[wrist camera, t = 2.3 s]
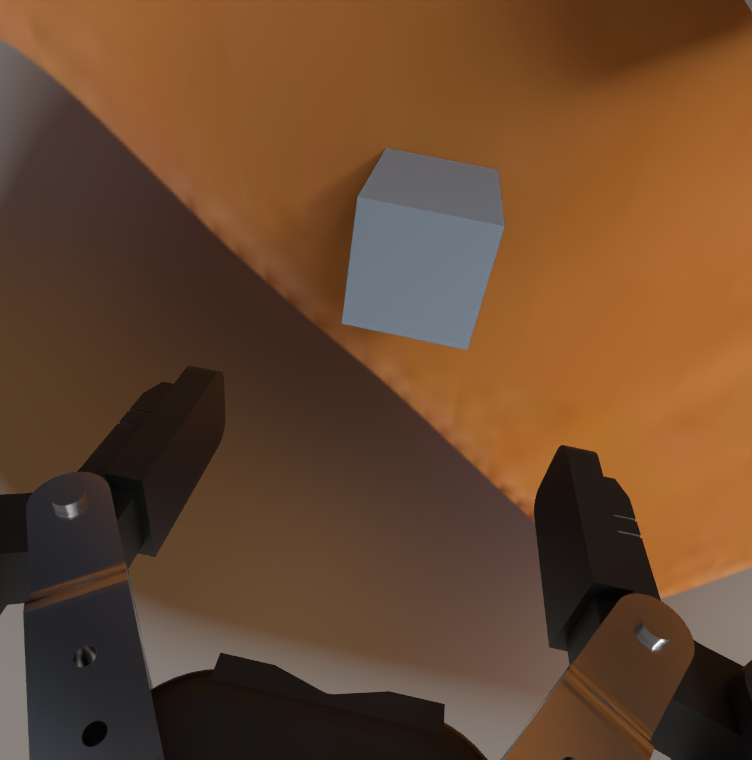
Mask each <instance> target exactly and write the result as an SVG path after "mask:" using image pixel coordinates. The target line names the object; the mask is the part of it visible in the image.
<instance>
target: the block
mask: <svg viewBox="0 0 752 760" xmlns="http://www.w3.org/2000/svg"><path fill="white" fill-rule="evenodd" d="M504 227H505V224H504V215H503V205H502V196H501V187H500V177H499V170H497V169H492V168H487V167H482V166H477V165H472V164H467V163H462V162H456V161H451V160H446V159H441V158H436V157H431V156H426V155H421V154H416V153H411V152H406V151H401V150H395V149H390V148H386V149H385V151H384V153H383V154H382V156H381V158H380V159H379V161H378V163H377V165H376V166H375V168H374V170H373V171H372V173H371V175H370V176H369V178H368V180H367V182H366V183H365V185H364V187H363V188H362V190H361V192H360V193H359V195H358V197H357V205H356V213H355V221H354V229H353V237H352V245H351V253H350V261H349V269H348V276H347V284H346V292H345V300H344V308H343V316H342V324H346V325H350V326H355V327H360V328H365V329H370V330H374V331H379V332H384V333H389V334H393V335H398V336H403V337H408V338H412V339H417V340H422V341H427V342H431V343H436V344H441V345H446V346H451V347H455V348H460V349H465V350H468V346H469V343H470V340H471V336H472V333H473V330H474V327H475V323H476V320H477V317H478V313H479V310H480V307H481V303H482V300H483V297H484V293H485V290H486V287H487V283H488V280H489V277H490V274H491V270H492V267H493V264H494V260H495V257H496V254H497V250H498V247H499V244H500V240H501V237H502V234H503V231H504Z"/></svg>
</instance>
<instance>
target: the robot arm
mask: <svg viewBox="0 0 752 760" xmlns="http://www.w3.org/2000/svg"><path fill="white" fill-rule="evenodd" d="M224 427H225V400H224V377H223V374H222V372H219V371H214V370H210V369H205V368H200V367H195V366H188V367H187V368H186V369H185V370H184V372H183V373H182V374H181V375H180V377H179V378H178V379H177V381H176V382H175V383H174V384H171V383H166V382H162V383H160V384H158V385H156V386H155V387H153V388H151V389H150V390H148V391H146V392H144V393H143V394H142V395H141V396H140V398H139V399H138V400H137V401H136V402H135V404H134V405H133V406H132V407H131V409H130V412H129V411H128V412H127V413H126V414H125V416H124V417H123V418H122V419H121V420H120V424H117V425H116V426H115V427H114V429H113V430H112V431H111V432H110V433H109V435H108V436H107V437H106V438H105V439H104V441H103V442H102V443H101V444H100V445H99V447H98V448H97V449H96V450H95V451H94V453H93V454H92V455H91V456H90V457H89V459H88V460H87V461H86V462H85V463H84V465H83V466H82V467H81V468H80V469H79V470H78V471H77V472H71V473H66V474H62V475H59V476H57V477H54V478H52V479H50V480H48V481H46V482H45V483H43V484H42V485H40V486H39V487H38V488H37V489H36V490H35V491H34V492H33V493H25V494H5V495H0V614H1V613H2V611H3V610H4V609H5V607H6V606H7V605H8V604H19V603H24V610H23V619H24V644H25V667H26V690H27V712H28V735H29V759H30V760H487V758H486V757H485V756H484V755H483V754H482V753H481V751H479V749H478V748H477V747H476V746H475V745H474V744H473V743H472V742H471V741H469V740H468V739H467V738H466V737H465V736H464V735H462V734H461V733H460V732H458V731H457V730H456V729H454V728H453V727H451V726H449V725H448V724H446V723H444V707H445V704H441V703H437V702H432V701H428V700H424V699H419V698H415V697H411V696H406V695H402V694H398V693H393V692H389V691H388V692H370V693H352V694H327V693H325V692H322V691H321V690H319V689H317V688H315V687H313V686H311V685H310V684H308V683H306V682H304V681H303V680H301V679H299V678H297V677H295V676H293V675H291V674H290V673H288V672H286V671H284V670H283V669H281V668H279V667H277V666H275V665H272V664H267V663H263V662H259V661H254V660H250V659H246V658H241V657H237V656H232V655H228V654H223V653H220V656H219V658H218V661H217V663H216V666H215V668H214V669H212V670H202V671H196V672H191V673H188V674H185V675H182V676H178V677H175V678H173V679H171V680H169V681H167V682H164V683H162V684H160V685H158V686H157V687H155V688H153V686H152V681H151V676H150V672H149V667H148V662H147V658H146V653H145V648H144V644H143V639H142V634H141V629H140V624H139V619H138V614H137V609H136V604H135V600H134V595H133V590H132V585H131V580H130V575H129V570H128V568H129V567H130V565H131V563H132V562H133V560H134V558H135V557H136V555H137V553H140V554H144V555H149V556H153V557H155V556H156V555H157V553H158V551H159V549H160V548H161V546H162V544H163V542H164V541H165V539H166V537H167V535H168V534H169V532H170V530H171V528H172V527H173V525H174V523H175V521H176V520H177V518H178V516H179V514H180V513H181V511H182V509H183V507H184V505H185V504H186V502H187V500H188V499H189V497H190V495H191V493H192V492H193V490H194V488H195V486H196V485H197V483H198V481H199V479H200V478H201V476H202V474H203V472H204V471H205V469H206V467H207V465H208V464H209V462H210V460H211V458H212V457H213V455H214V453H215V451H216V450H217V448H218V446H219V444H220V442H221V439H222V436H223V432H224ZM534 518H535V527H536V535H537V543H538V544H537V545H538V553H539V562H540V571H541V580H542V588H543V597H544V606H545V615H546V623H547V632H548V641H549V647H551V648H555V649H560V650H564V651H568V656H569V664H570V665H569V667H568V668H567V670H566V671H565V672H564V674H563V675H562V676H561V678H560V679H559V680H558V682H557V683H556V684H555V686H554V687H553V689H552V690H551V691H550V693H549V694H548V695H547V697H546V698H545V700H544V701H543V702H542V703H541V705H540V706H539V708H538V709H537V710H536V712H535V713H534V715H533V716H532V717H531V719H530V720H529V721H528V723H527V724H526V725H525V727H524V728H523V729H522V731H521V732H520V734H519V735H518V736H517V738H516V739H515V740H514V742H513V743H512V744H511V746H510V747H509V748H508V750H507V751H506V752H505V754H504V755H503V756H502V758H501V759H500V760H650V758H651V756H652V753H653V750H654V749H656V750H658V751H659V752H661V753H663V754H665V755H666V756H668V757H670V758H671V760H752V660H751V661H750V662H749V663H748V664H746V666H744V667H743V666H741V665H740V664H738V663H736V662H734V661H732V660H730V659H728V658H726V657H724V656H722V655H720V654H718V653H716V652H714V651H712V650H710V649H708V648H706V647H704V646H703V645H701V644H699V643H697V642H696V641H695V640H693V638H692V635H691V633H690V631H689V629H688V627H687V625H686V624H685V623H684V621H683V620H682V619H681V617H680V616H679V615H678V614H677V613H676V612H675V611H674V610H673V609H671V608H670V607H669V606H668V605H666V604H664V603H663V602H662V601H661V599H660V596H659V593H658V590H657V586H656V583H655V580H654V577H653V573H652V570H651V567H650V564H649V560H648V557H647V554H646V551H645V547H644V544H643V541H642V538H640V531H639V528H638V525H637V522H635V515H634V512H633V508H632V505H631V502H630V499H629V497H628V496H627V494H626V493H625V492H624V490H623V489H622V488H621V486H620V485H619V484H618V482H617V481H616V480H615V479H613V478H608V477H603V473H602V469H601V466H600V462H599V458H598V455H597V454H596V453H595V452H593V451H588V450H584V449H579V448H574V447H569V446H565V445H561V446H560V447H559V448H558V450H557V452H556V454H555V456H554V458H553V460H552V462H551V464H550V466H549V468H548V470H547V472H546V474H545V476H544V478H543V480H542V482H541V484H540V487H539V489H538V491H537V495H536V499H535V505H534Z"/></svg>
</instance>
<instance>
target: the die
mask: <svg viewBox="0 0 752 760" xmlns="http://www.w3.org/2000/svg"><path fill="white" fill-rule="evenodd" d="M744 1H745V2H746V4H747V5H748V7H749V8H750V10H751V11H752V0H744Z"/></svg>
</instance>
